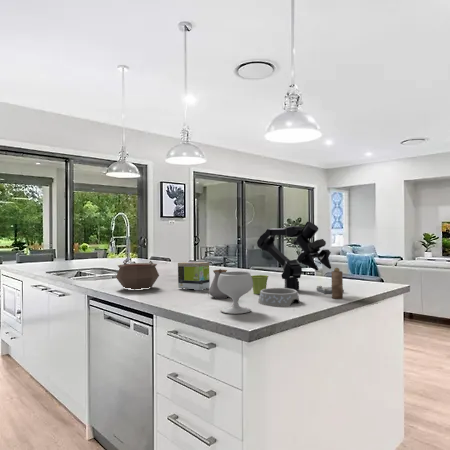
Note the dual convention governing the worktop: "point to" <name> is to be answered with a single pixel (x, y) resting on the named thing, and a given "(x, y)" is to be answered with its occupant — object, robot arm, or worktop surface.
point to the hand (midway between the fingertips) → (324, 269)
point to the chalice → (235, 289)
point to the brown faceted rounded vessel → (137, 275)
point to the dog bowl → (278, 296)
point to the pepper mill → (337, 284)
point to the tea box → (193, 275)
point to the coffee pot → (214, 288)
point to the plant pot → (259, 283)
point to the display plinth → (325, 289)
